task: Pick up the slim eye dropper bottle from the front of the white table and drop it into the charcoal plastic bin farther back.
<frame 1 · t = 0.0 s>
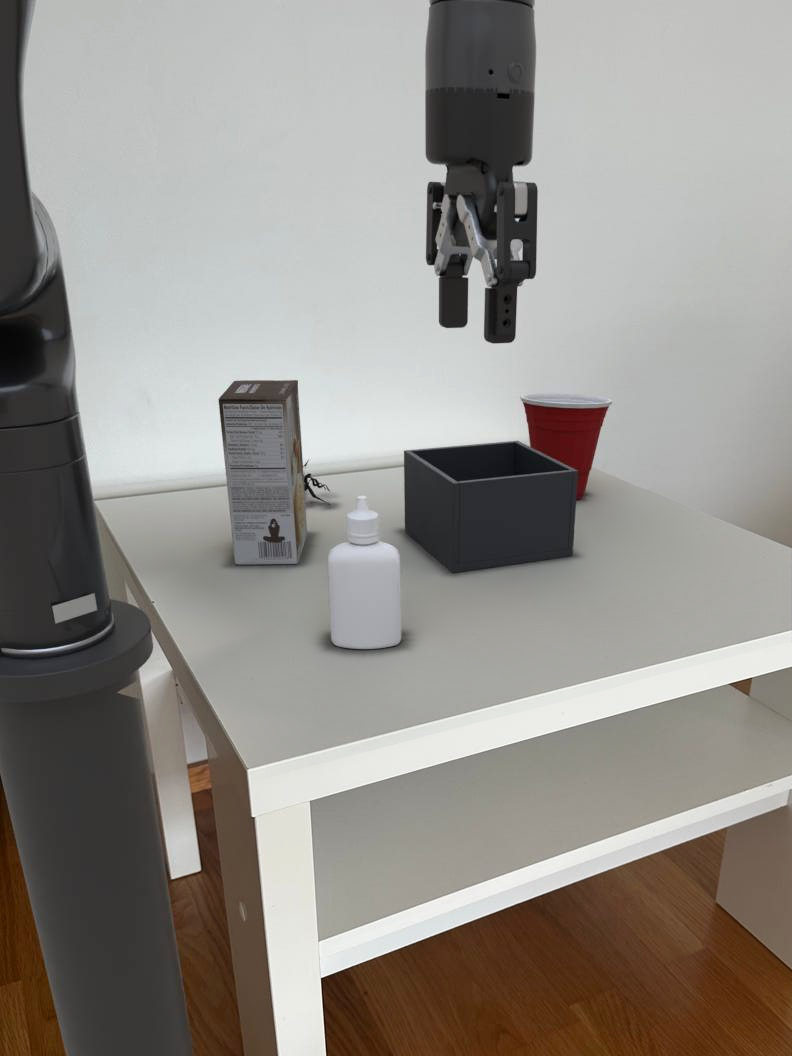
hand: (475, 334, 71), 23 cm above the table, tool pointing down, fingers open, 8 cm apart
coffee box: (272, 551, 95), on the table
bin: (486, 543, 98), on the table
creature: (302, 503, 109), on the table
eye dropper bottle: (366, 643, 76), on the table
plastic cup: (560, 495, 114), on the table
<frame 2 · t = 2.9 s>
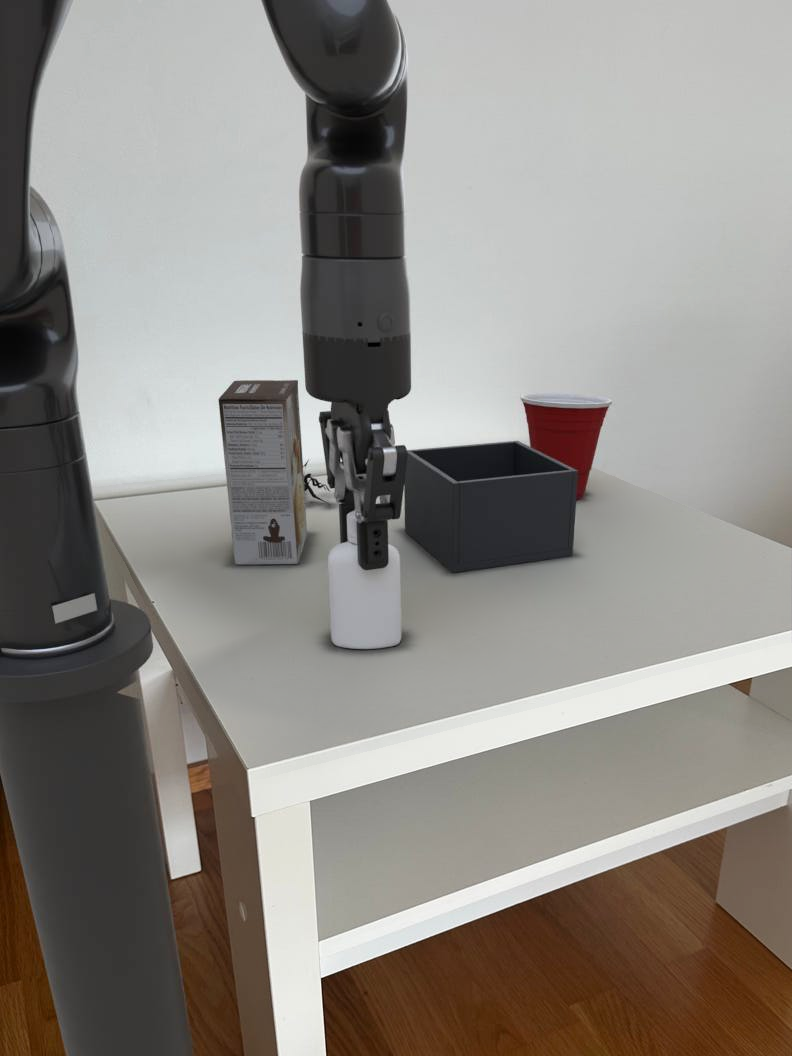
hand: (364, 556, 72), 7 cm above the table, tool pointing down, fingers closed on eye dropper bottle, 4 cm apart
eye dropper bottle: (366, 643, 76), on the table, touching gripper
everything else where it was.
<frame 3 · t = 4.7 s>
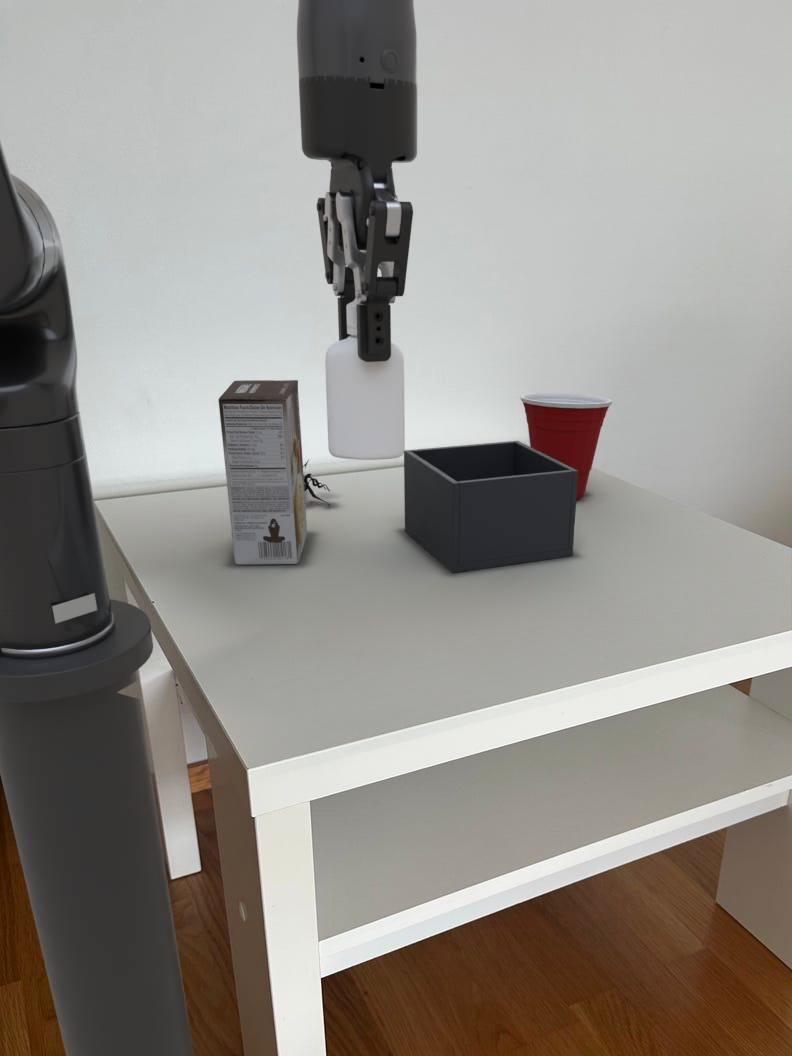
hand: (364, 354, 67), 22 cm above the table, tool pointing down, fingers closed on eye dropper bottle, 4 cm apart
eye dropper bottle: (367, 457, 70), point 15 cm above the table, touching gripper
everything else where it was.
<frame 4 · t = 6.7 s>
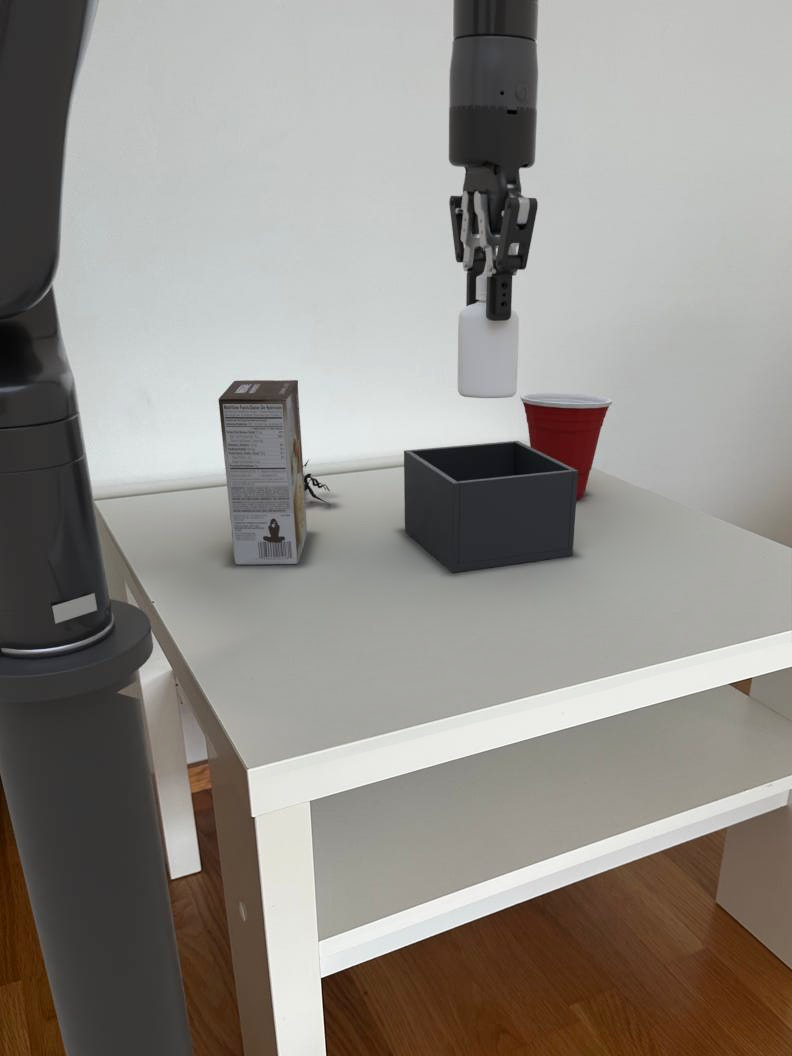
hand: (488, 316, 87), 23 cm above the table, tool pointing down, fingers closed on eye dropper bottle, 4 cm apart
eye dropper bottle: (486, 397, 90), point 15 cm above the table, touching gripper
everything else where it was.
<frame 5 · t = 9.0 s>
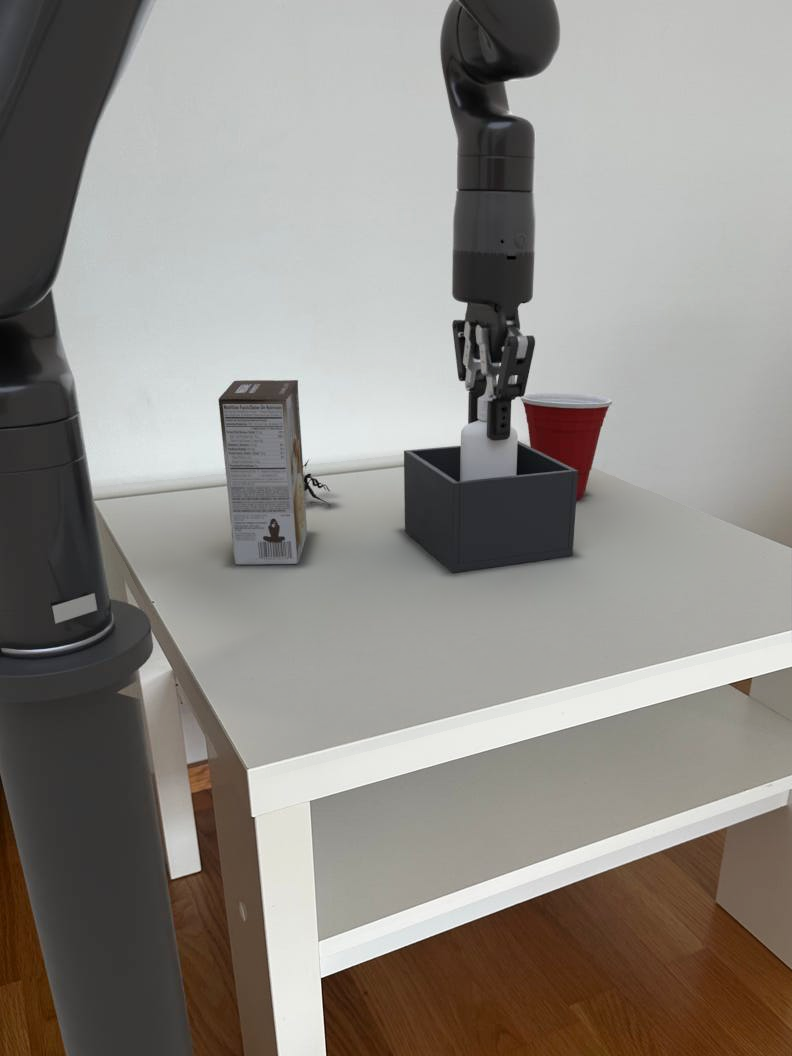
hand: (488, 433, 93), 12 cm above the table, tool pointing down, fingers closed on eye dropper bottle, 4 cm apart
eye dropper bottle: (487, 505, 96), point 4 cm above the table, touching gripper
everything else where it was.
when the fingers open (8 cm above the table, at t = 10.5 s): eye dropper bottle stays where it is, resting on bin.
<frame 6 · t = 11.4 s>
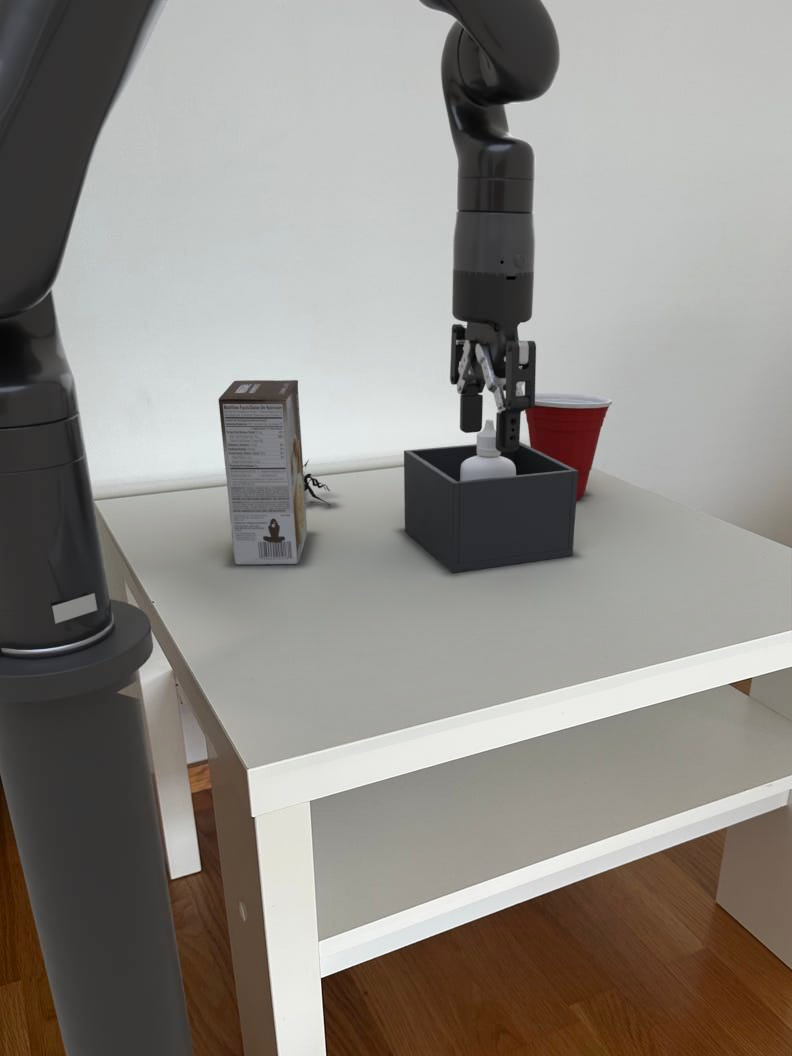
hand: (488, 441, 93), 11 cm above the table, tool pointing down, fingers open, 8 cm apart
eye dropper bottle: (486, 537, 97), point 1 cm above the table, touching bin
everything else where it was.
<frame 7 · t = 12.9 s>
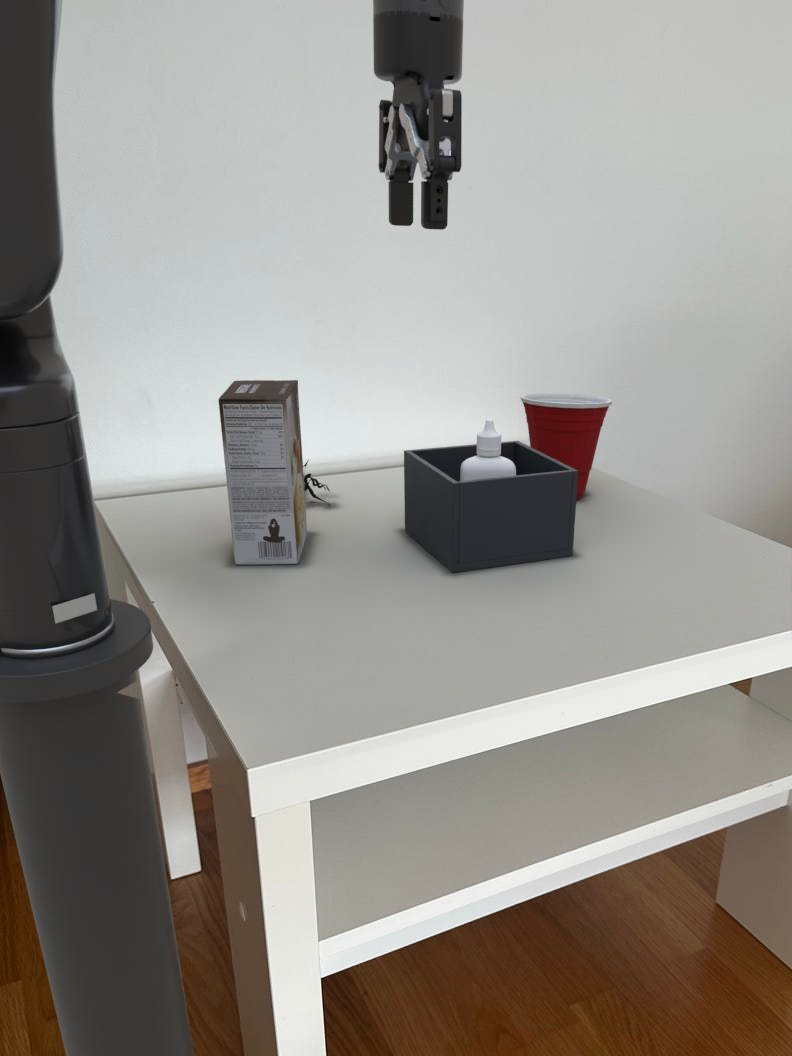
hand: (416, 227, 85), 30 cm above the table, tool pointing down, fingers open, 8 cm apart
nothing on the table moved.
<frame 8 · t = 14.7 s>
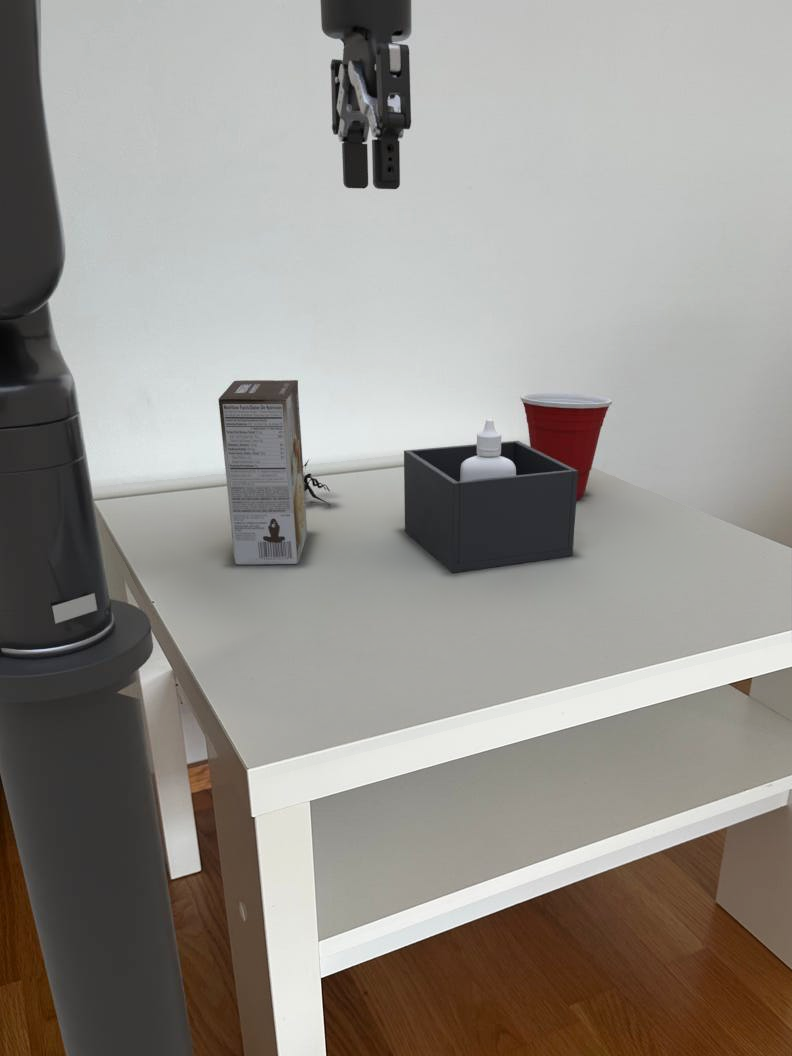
hand: (370, 188, 84), 33 cm above the table, tool pointing down, fingers open, 8 cm apart
nothing on the table moved.
at the end: eye dropper bottle inside the target area in the bin (0.0 cm from its centre), point 0.6 cm above the bin's base; the gripper is holding nothing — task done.
